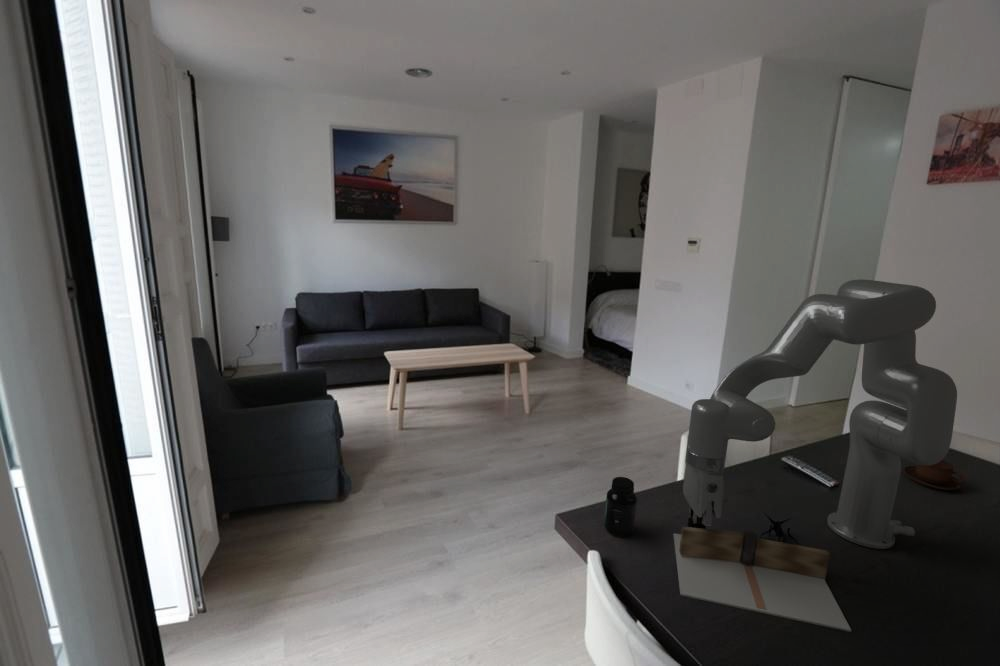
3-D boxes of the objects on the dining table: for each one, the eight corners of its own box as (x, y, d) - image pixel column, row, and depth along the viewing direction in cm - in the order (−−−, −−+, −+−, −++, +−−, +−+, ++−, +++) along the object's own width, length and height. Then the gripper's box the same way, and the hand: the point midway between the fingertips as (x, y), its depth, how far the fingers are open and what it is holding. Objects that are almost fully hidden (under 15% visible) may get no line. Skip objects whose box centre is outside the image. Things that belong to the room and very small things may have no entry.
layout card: (813, 560, 100) (814, 558, 100) (852, 632, 82) (852, 630, 82) (673, 534, 107) (673, 532, 107) (680, 595, 89) (680, 593, 89)
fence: (821, 574, 96) (827, 544, 94) (825, 582, 93) (832, 552, 92) (738, 558, 100) (743, 529, 98) (740, 566, 97) (745, 536, 96)
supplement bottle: (598, 529, 109) (602, 482, 106) (612, 516, 114) (616, 471, 111) (626, 542, 104) (630, 493, 102) (639, 528, 109) (643, 481, 107)
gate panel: (737, 557, 99) (741, 532, 98) (739, 561, 98) (743, 536, 96) (679, 551, 100) (682, 526, 99) (680, 555, 99) (683, 529, 98)
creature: (801, 558, 102) (792, 530, 109) (806, 541, 100) (797, 513, 106) (761, 550, 104) (755, 523, 111) (766, 533, 102) (760, 507, 109)
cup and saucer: (953, 479, 134) (958, 460, 133) (965, 499, 125) (971, 478, 123) (899, 467, 141) (904, 449, 139) (906, 485, 131) (911, 465, 129)
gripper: (740, 478, 90) (727, 560, 94) (709, 443, 105) (699, 516, 109) (700, 476, 91) (690, 559, 95) (675, 442, 105) (667, 515, 109)
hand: (695, 536), depth 102 cm, fingers closed
